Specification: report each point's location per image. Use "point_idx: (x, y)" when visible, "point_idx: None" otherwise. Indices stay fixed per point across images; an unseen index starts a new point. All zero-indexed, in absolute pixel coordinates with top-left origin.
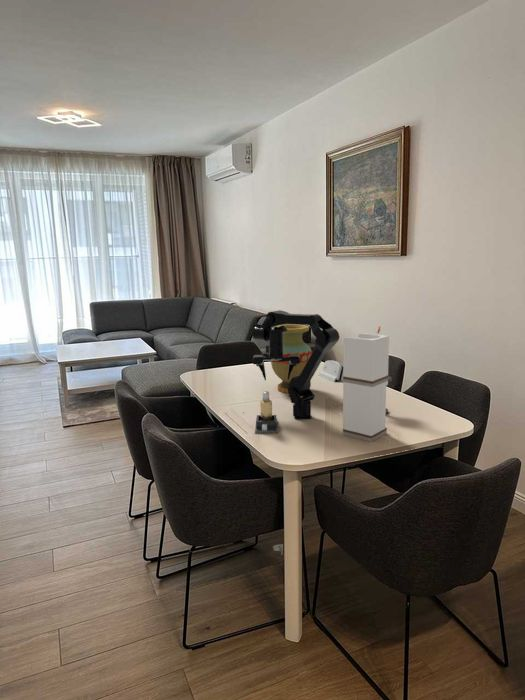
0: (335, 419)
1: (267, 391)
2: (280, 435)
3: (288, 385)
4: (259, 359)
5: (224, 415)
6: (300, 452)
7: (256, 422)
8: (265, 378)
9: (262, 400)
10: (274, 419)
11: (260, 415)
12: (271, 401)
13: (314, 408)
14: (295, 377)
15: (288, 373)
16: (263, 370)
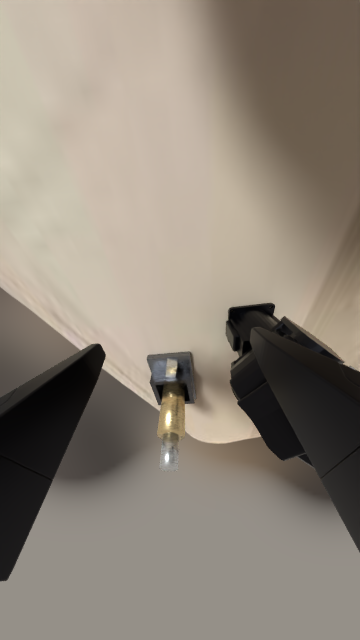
0: (323, 334)
1: (171, 466)
2: (201, 399)
3: (241, 405)
4: None
5: (62, 328)
6: (226, 429)
7: (159, 403)
8: (99, 369)
9: (160, 432)
10: (190, 397)
11: (157, 383)
12: (184, 435)
13: (303, 243)
14: (304, 451)
15: (284, 406)
16: (53, 463)
